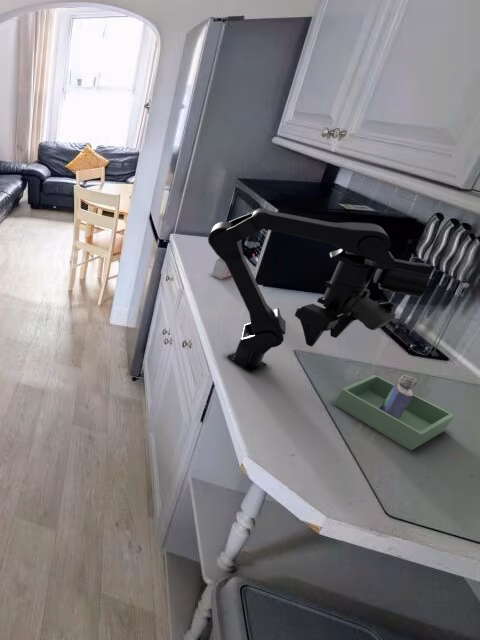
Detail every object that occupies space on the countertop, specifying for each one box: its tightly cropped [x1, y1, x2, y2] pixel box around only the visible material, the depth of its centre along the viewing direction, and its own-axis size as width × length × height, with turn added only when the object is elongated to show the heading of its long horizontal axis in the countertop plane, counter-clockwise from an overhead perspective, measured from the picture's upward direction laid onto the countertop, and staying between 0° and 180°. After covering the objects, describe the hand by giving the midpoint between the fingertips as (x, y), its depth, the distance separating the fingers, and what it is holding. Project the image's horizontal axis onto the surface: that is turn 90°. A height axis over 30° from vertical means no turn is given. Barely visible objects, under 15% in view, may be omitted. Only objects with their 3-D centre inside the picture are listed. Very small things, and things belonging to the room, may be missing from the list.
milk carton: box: [211, 257, 232, 280], centre depth 147 cm, size 4×7×10 cm, turn 120°
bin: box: [333, 374, 456, 451], centre depth 85 cm, size 13×13×4 cm
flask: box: [379, 374, 418, 420], centre depth 84 cm, size 9×3×11 cm, turn 130°
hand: (321, 341), depth 91 cm, fingers open, 9 cm apart
